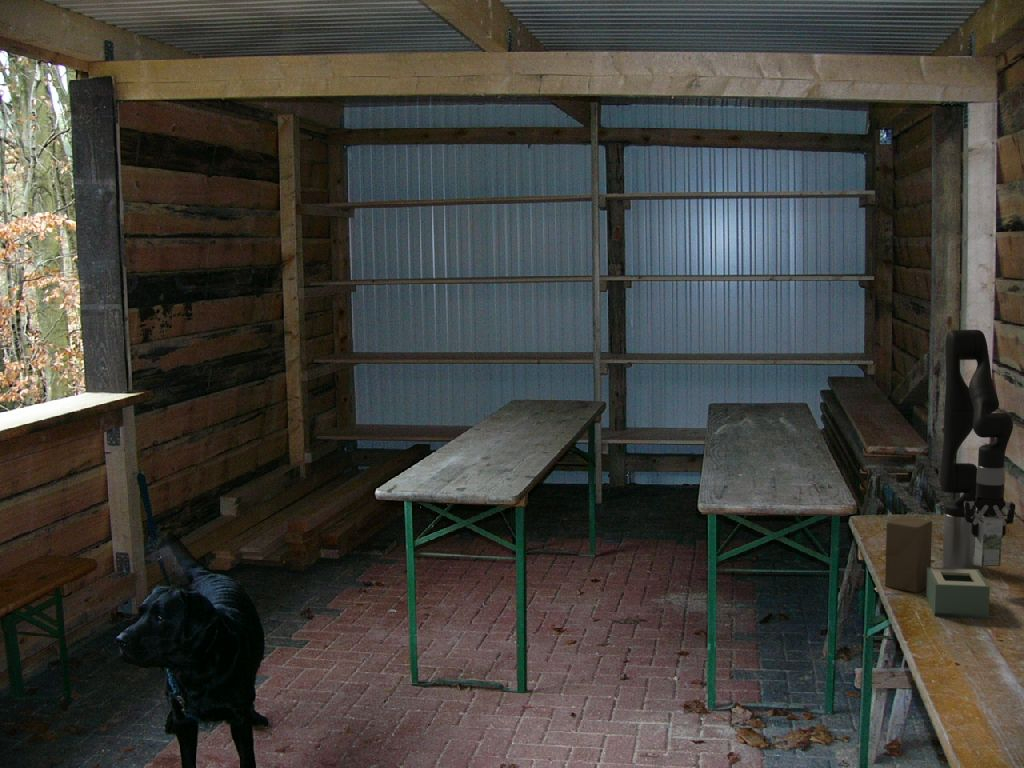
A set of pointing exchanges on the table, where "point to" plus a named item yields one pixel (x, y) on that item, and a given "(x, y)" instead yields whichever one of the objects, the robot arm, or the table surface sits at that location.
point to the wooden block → (908, 553)
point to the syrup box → (988, 541)
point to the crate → (957, 592)
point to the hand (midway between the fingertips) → (987, 536)
